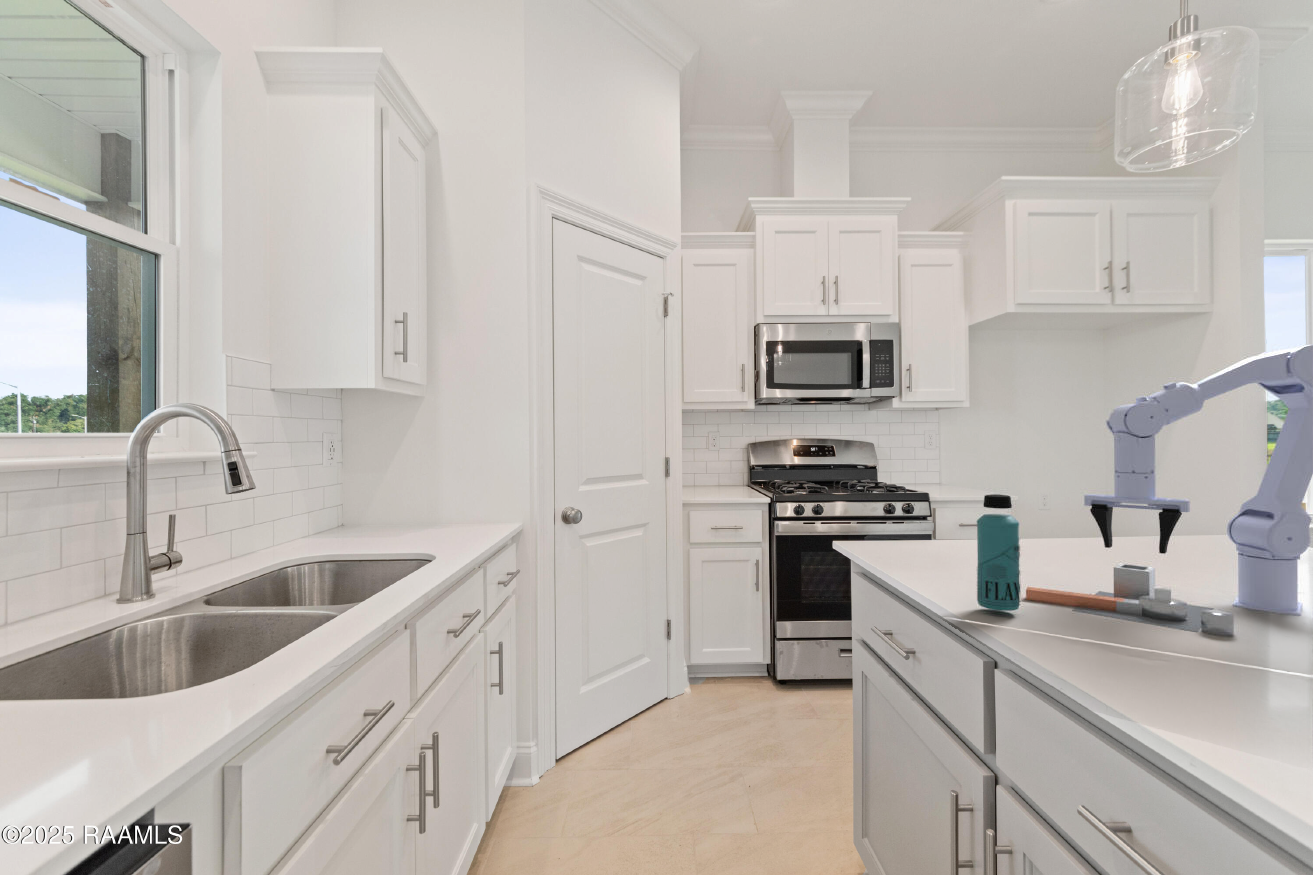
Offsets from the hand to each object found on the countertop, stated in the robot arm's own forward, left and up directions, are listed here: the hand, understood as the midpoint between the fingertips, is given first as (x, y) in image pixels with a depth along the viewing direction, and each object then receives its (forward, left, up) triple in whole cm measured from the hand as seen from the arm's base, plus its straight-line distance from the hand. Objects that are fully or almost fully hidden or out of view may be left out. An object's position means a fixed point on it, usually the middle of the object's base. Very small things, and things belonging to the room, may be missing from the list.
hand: (1135, 549), depth 109 cm
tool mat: (+5, +2, -9) cm, 11 cm away
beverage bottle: (+24, -14, -10) cm, 29 cm away
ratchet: (+9, -3, -9) cm, 13 cm away
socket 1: (0, 0, -9) cm, 9 cm away
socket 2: (+12, +12, -10) cm, 19 cm away
